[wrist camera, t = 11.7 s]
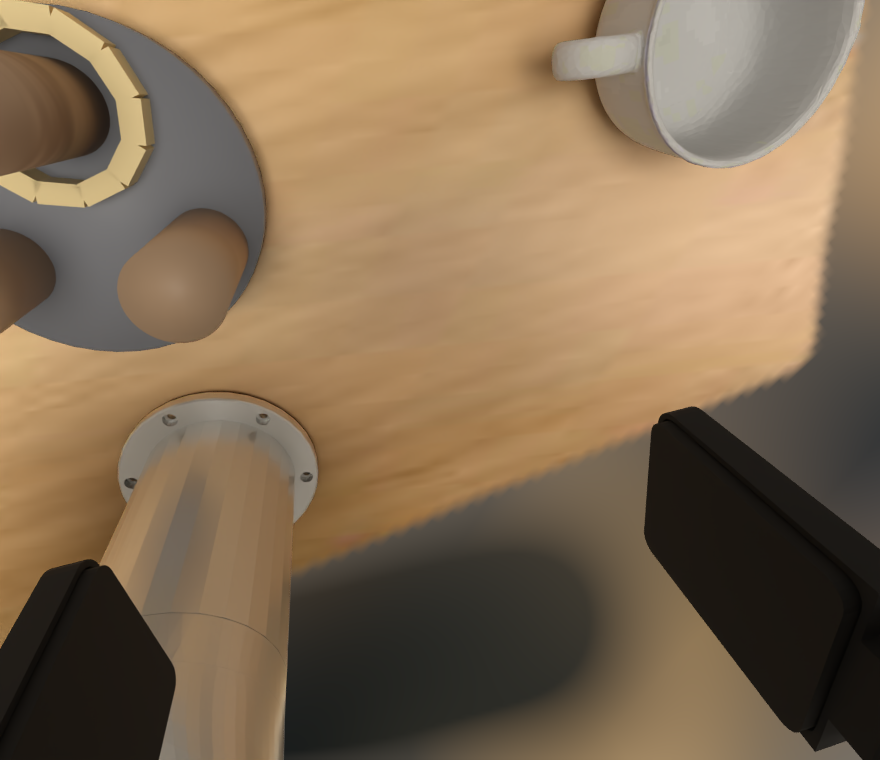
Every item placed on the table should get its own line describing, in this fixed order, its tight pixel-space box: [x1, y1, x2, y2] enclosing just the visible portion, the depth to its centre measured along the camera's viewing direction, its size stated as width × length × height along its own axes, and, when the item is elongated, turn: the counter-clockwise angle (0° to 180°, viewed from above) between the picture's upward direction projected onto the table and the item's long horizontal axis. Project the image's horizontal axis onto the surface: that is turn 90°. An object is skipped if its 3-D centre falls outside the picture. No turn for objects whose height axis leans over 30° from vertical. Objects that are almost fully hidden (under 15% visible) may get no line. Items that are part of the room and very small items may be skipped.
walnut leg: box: [0, 50, 110, 176], centre depth 20 cm, size 4×4×8 cm
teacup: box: [552, 0, 865, 168], centre depth 26 cm, size 14×11×8 cm
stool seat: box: [0, 0, 266, 352], centre depth 23 cm, size 16×16×10 cm
